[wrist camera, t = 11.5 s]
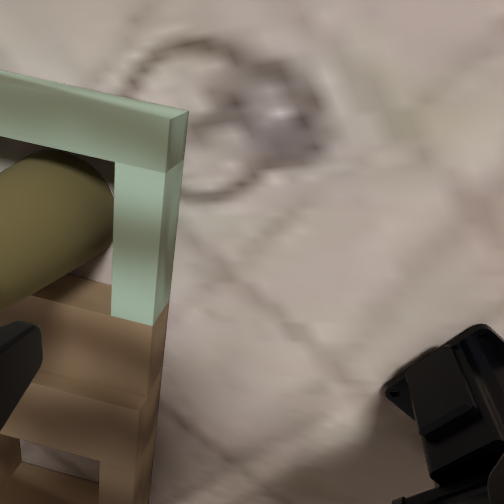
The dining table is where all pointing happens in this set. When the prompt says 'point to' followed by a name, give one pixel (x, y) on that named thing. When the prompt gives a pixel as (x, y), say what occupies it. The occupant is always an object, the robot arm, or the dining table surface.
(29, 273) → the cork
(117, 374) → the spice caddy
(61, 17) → the dining table surface
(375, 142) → the dining table surface
